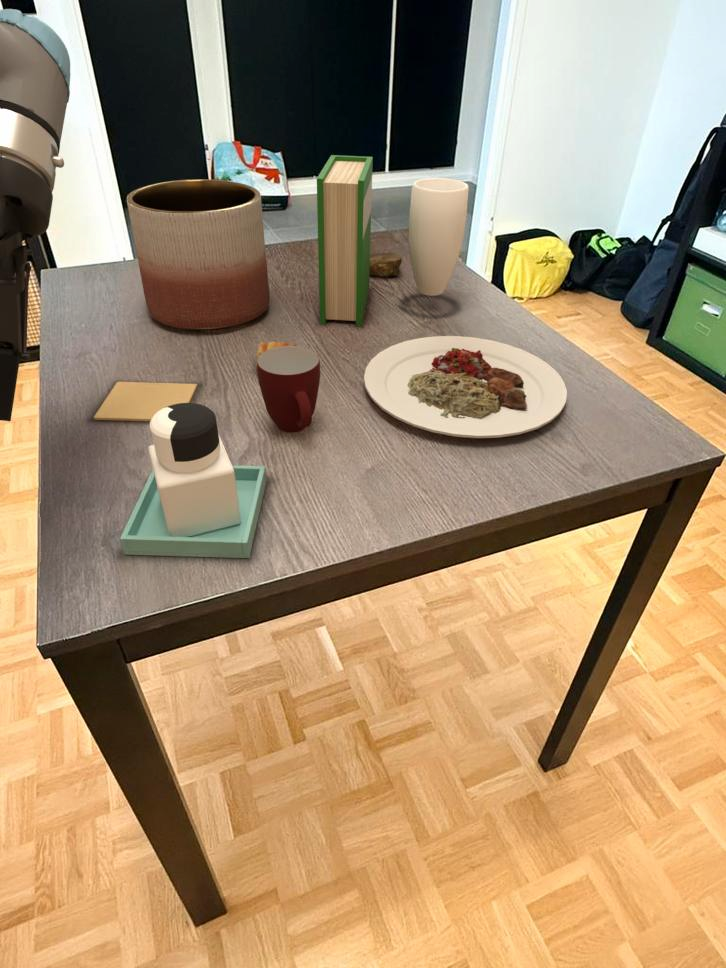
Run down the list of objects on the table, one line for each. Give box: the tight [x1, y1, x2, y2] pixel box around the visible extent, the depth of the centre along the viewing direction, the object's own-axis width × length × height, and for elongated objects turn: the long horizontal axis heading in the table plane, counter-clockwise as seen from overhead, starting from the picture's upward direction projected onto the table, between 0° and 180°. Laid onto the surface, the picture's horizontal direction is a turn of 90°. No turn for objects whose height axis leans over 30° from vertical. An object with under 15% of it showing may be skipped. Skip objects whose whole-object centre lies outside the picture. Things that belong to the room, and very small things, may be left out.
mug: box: [256, 345, 321, 434], centre depth 82 cm, size 11×8×10 cm
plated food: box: [363, 335, 568, 439], centre depth 93 cm, size 30×30×3 cm
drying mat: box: [93, 381, 198, 422], centre depth 89 cm, size 12×10×1 cm
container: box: [147, 402, 241, 537], centre depth 66 cm, size 8×8×13 cm
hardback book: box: [316, 154, 374, 327], centre depth 111 cm, size 18×7×24 cm, turn 175°
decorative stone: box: [369, 252, 403, 279], centre depth 133 cm, size 10×9×4 cm
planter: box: [126, 178, 270, 332], centre depth 109 cm, size 22×22×20 cm
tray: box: [119, 464, 268, 559], centre depth 70 cm, size 13×13×2 cm
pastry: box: [255, 340, 297, 369], centre depth 97 cm, size 9×7×4 cm
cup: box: [408, 177, 470, 297], centre depth 112 cm, size 10×10×22 cm
